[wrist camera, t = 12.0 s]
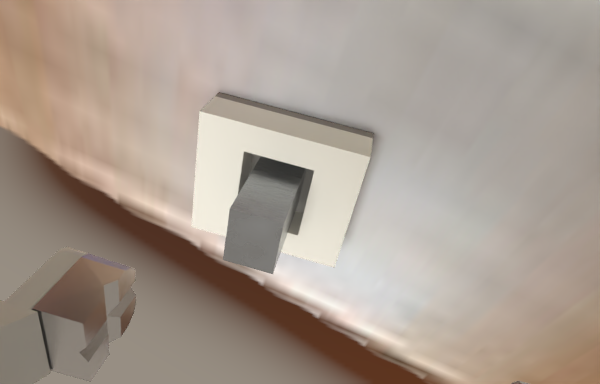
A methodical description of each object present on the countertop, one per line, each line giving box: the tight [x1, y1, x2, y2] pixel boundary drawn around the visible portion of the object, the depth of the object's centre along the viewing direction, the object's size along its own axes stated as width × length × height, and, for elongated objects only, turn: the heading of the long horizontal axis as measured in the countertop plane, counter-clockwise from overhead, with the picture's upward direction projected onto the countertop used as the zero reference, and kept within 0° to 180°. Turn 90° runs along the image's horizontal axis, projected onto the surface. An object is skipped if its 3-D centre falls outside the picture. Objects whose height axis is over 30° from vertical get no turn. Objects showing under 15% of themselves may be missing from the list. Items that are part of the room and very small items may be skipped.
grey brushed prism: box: [223, 156, 306, 274], centre depth 36 cm, size 4×5×10 cm
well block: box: [191, 92, 374, 267], centre depth 39 cm, size 14×12×4 cm
